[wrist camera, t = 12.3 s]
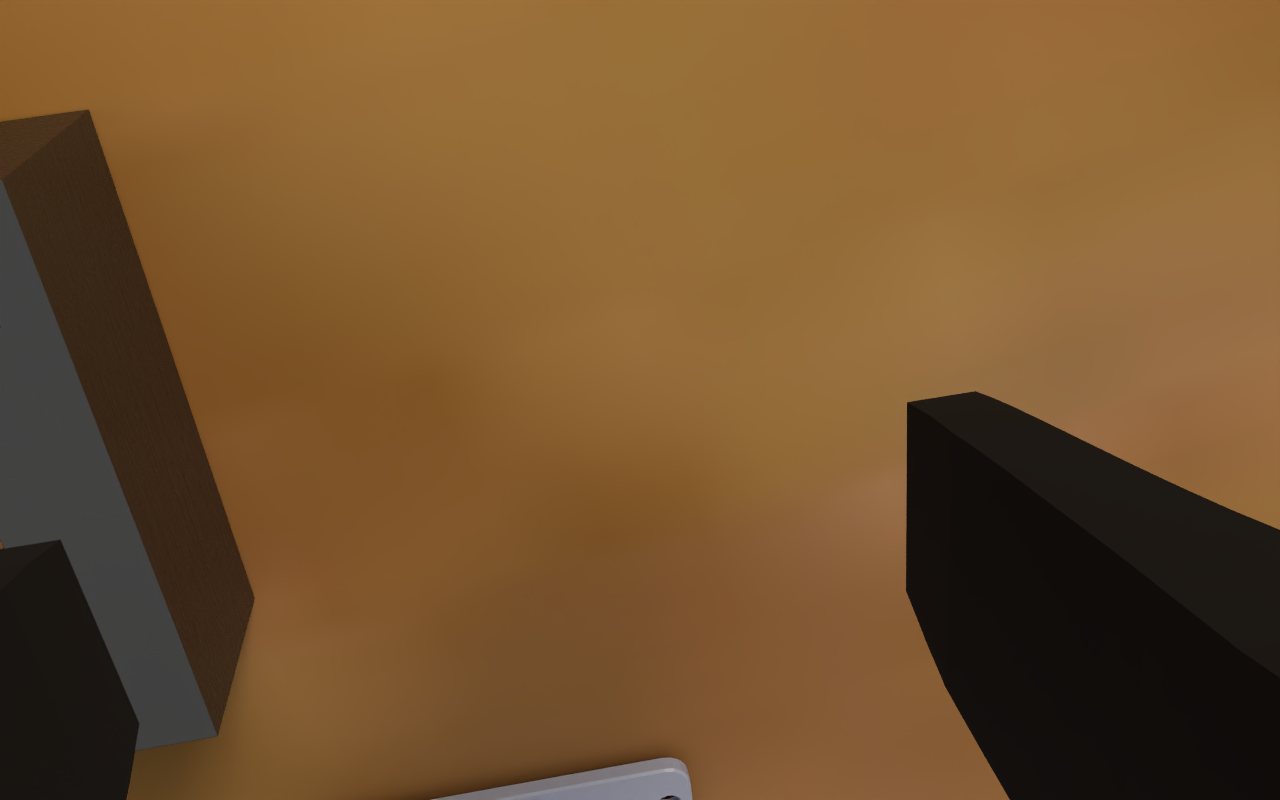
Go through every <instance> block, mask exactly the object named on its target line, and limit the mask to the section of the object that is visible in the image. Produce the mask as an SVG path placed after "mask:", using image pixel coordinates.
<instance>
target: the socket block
mask: <svg viewBox="0 0 1280 800" xmlns="http://www.w3.org/2000/svg"><path fill="white" fill-rule="evenodd" d="M0 540H1V542H2V544H3V546H4V548H11V547H17V546H24V545H30V544H36V543H42V542H48V541H54V540H61V542H62V544H63V546H64V549H65V551H66V553H67V556H68V558H69V560H70V563H71V565H72V567H73V570H74V572H75V574H76V577H77V579H78V581H79V584H80V586H81V588H82V591H83V593H84V595H85V598H86V600H87V602H88V605H89V607H90V609H91V612H92V614H93V616H94V619H95V621H96V623H97V626H98V628H99V630H100V633H101V635H102V637H103V640H104V642H105V644H106V647H107V649H108V651H109V654H110V656H111V658H112V661H113V663H114V665H115V668H116V670H117V672H118V675H119V677H120V679H121V682H122V684H123V686H124V689H125V691H126V693H127V696H128V698H129V700H130V703H131V705H132V707H133V710H134V712H135V714H136V717H137V719H138V721H139V729H138V735H137V741H136V747H135V751H136V750H142V749H148V748H153V747H159V746H165V745H171V744H176V743H182V742H188V741H193V740H199V739H205V738H211V737H216V736H218V733H219V729H220V725H221V722H222V718H223V714H224V711H225V707H226V703H227V699H228V696H229V692H230V688H231V684H232V681H233V677H234V673H235V670H236V666H237V662H238V658H239V655H240V651H241V647H242V644H243V640H244V636H245V632H246V629H247V625H248V621H249V617H250V614H251V610H252V606H253V603H254V599H255V598H254V595H253V592H252V589H251V586H250V583H249V581H248V578H247V575H246V572H245V569H244V566H243V563H242V560H241V557H240V554H239V551H238V548H237V545H236V542H235V539H234V536H233V533H232V530H231V528H230V525H229V522H228V519H227V516H226V513H225V510H224V507H223V504H222V501H221V498H220V495H219V492H218V489H217V486H216V483H215V480H214V477H213V475H212V472H211V469H210V466H209V463H208V460H207V457H206V454H205V451H204V448H203V445H202V442H201V439H200V436H199V433H198V430H197V427H196V424H195V422H194V419H193V416H192V413H191V410H190V407H189V404H188V401H187V398H186V395H185V392H184V389H183V386H182V383H181V380H180V377H179V374H178V371H177V369H176V366H175V363H174V360H173V357H172V354H171V351H170V348H169V345H168V342H167V339H166V336H165V333H164V330H163V327H162V324H161V321H160V318H159V316H158V313H157V310H156V307H155V304H154V301H153V298H152V295H151V292H150V289H149V286H148V283H147V280H146V277H145V274H144V271H143V268H142V266H141V263H140V260H139V257H138V254H137V251H136V248H135V245H134V242H133V239H132V236H131V233H130V230H129V227H128V224H127V221H126V218H125V215H124V213H123V210H122V207H121V204H120V201H119V198H118V195H117V192H116V189H115V186H114V183H113V180H112V177H111V174H110V171H109V168H108V165H107V162H106V160H105V157H104V154H103V151H102V148H101V145H100V142H99V139H98V136H97V133H96V130H95V127H94V124H93V121H92V118H91V115H90V112H89V110H83V111H75V112H68V113H61V114H53V115H46V116H39V117H32V118H24V119H17V120H10V121H3V122H0Z"/></svg>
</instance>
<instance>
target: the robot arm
mask: <svg viewBox="0 0 1280 800" xmlns="http://www.w3.org/2000/svg"><path fill="white" fill-rule="evenodd" d="M906 592H907V594H908V597H909V599H910V602H911V604H912V607H913V609H914V612H915V614H916V617H917V619H918V622H919V624H920V627H921V629H922V632H923V635H924V637H925V640H926V642H927V645H928V647H929V649H930V652H931V654H932V656H933V659H934V661H935V663H936V666H937V668H938V670H939V673H940V675H941V677H942V680H943V682H944V685H945V687H946V689H947V690H948V692H949V694H950V696H951V698H952V699H953V701H954V703H955V705H956V707H957V708H958V710H959V712H960V714H961V715H962V717H963V719H964V721H965V722H966V724H967V726H968V728H969V729H970V731H971V733H972V735H973V736H974V738H975V740H976V742H977V743H978V745H979V747H980V749H981V750H982V752H983V754H984V756H985V757H986V759H987V761H988V763H989V764H990V766H991V768H992V770H993V771H994V773H995V775H996V776H997V778H998V780H999V782H1000V783H1001V785H1002V787H1003V789H1004V790H1005V792H1006V794H1007V795H1008V797H1009V799H1010V800H1280V530H1279V529H1276V528H1274V527H1271V526H1269V525H1267V524H1264V523H1262V522H1259V521H1257V520H1254V519H1252V518H1250V517H1247V516H1245V515H1242V514H1240V513H1238V512H1235V511H1233V510H1230V509H1228V508H1226V507H1224V506H1221V505H1219V504H1217V503H1215V502H1212V501H1210V500H1208V499H1206V498H1203V497H1201V496H1199V495H1197V494H1194V493H1192V492H1190V491H1188V490H1186V489H1184V488H1181V487H1179V486H1177V485H1175V484H1173V483H1170V482H1168V481H1166V480H1164V479H1162V478H1160V477H1158V476H1156V475H1153V474H1151V473H1149V472H1147V471H1145V470H1143V469H1141V468H1139V467H1137V466H1134V465H1132V464H1130V463H1128V462H1126V461H1124V460H1122V459H1120V458H1118V457H1116V456H1114V455H1112V454H1110V453H1107V452H1105V451H1103V450H1101V449H1099V448H1097V447H1095V446H1093V445H1091V444H1089V443H1087V442H1085V441H1083V440H1081V439H1079V438H1077V437H1075V436H1073V435H1071V434H1069V433H1067V432H1065V431H1062V430H1060V429H1058V428H1056V427H1054V426H1052V425H1050V424H1048V423H1046V422H1044V421H1042V420H1040V419H1038V418H1036V417H1034V416H1031V415H1029V414H1027V413H1025V412H1023V411H1021V410H1019V409H1017V408H1014V407H1012V406H1010V405H1008V404H1006V403H1003V402H1001V401H999V400H996V399H994V398H992V397H989V396H986V395H984V394H981V393H979V392H976V391H975V392H968V393H962V394H956V395H950V396H944V397H937V398H931V399H925V400H919V401H913V402H907V531H906ZM138 729H139V721H138V719H137V717H136V714H135V712H134V710H133V707H132V705H131V703H130V700H129V698H128V696H127V693H126V691H125V689H124V686H123V684H122V682H121V679H120V677H119V675H118V672H117V670H116V668H115V665H114V663H113V661H112V658H111V656H110V654H109V651H108V649H107V647H106V644H105V642H104V640H103V637H102V635H101V633H100V630H99V628H98V626H97V623H96V621H95V619H94V616H93V614H92V612H91V609H90V607H89V605H88V602H87V600H86V598H85V595H84V593H83V591H82V588H81V586H80V584H79V581H78V579H77V577H76V574H75V572H74V570H73V567H72V565H71V563H70V560H69V558H68V556H67V553H66V551H65V549H64V546H63V544H62V542H61V540H54V541H48V542H42V543H36V544H30V545H24V546H17V547H11V548H5V549H0V800H126V798H127V793H128V788H129V783H130V777H131V771H132V765H133V759H134V753H135V747H136V741H137V735H138ZM666 796H674V797H672V798H669V799H661V798H663V797H666ZM431 800H692V792H691V784H690V778H689V774H688V770H687V768H686V765H685V764H684V763H683V762H681V761H680V760H678V759H675V758H658V759H653V760H647V761H642V762H636V763H631V764H625V765H619V766H614V767H608V768H603V769H597V770H592V771H586V772H581V773H575V774H570V775H564V776H559V777H553V778H548V779H542V780H536V781H531V782H525V783H520V784H514V785H509V786H503V787H498V788H492V789H487V790H481V791H476V792H470V793H465V794H459V795H453V796H448V797H442V798H437V799H431Z"/></svg>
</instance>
